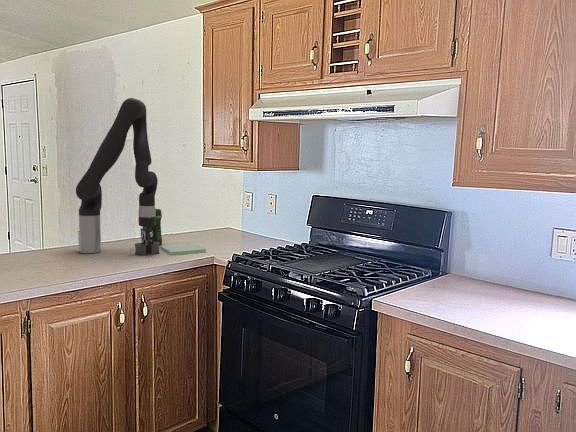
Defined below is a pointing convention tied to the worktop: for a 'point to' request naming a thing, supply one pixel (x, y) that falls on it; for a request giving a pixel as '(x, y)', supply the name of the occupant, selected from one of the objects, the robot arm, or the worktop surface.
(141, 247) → the connector
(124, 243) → the worktop surface
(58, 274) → the worktop surface
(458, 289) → the worktop surface
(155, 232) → the coffee jar
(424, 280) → the worktop surface
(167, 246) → the cutting board
